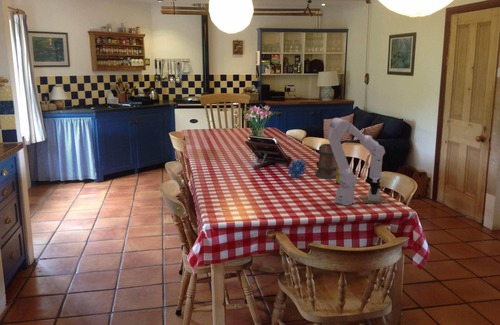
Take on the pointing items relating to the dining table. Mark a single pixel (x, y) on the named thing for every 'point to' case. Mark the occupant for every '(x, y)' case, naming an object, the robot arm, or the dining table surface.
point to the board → (381, 200)
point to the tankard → (326, 163)
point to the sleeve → (374, 197)
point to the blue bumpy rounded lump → (297, 168)
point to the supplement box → (337, 176)
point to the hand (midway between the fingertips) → (374, 192)
